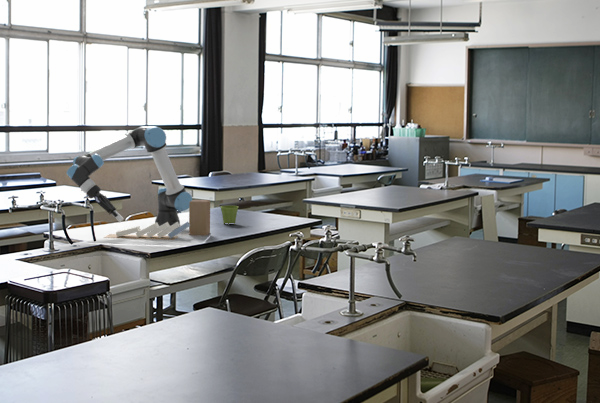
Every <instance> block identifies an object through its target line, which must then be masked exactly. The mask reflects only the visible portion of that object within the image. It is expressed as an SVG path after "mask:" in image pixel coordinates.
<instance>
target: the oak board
mask: <svg viewBox="0 0 600 403" xmlns="http://www.w3.org/2000/svg"><path fill="white" fill-rule="evenodd" d="M178 237H179V236H178V235H175V236H174V237H172V238H171V239H170V237H169V236H168V235H164V236H163V237H161V238H159V237H158V235H153V236H152V237H150V238H149V237H148V236H147V234H144V235H142V236H140V237H137V235H136V234H128V235H123V236H119V237H117V235H116V233H115V234H114V233H113V234H112V233H110V234H109V233H108V235H106V236H104V237H103V239H123V240H125V239H130V240H133V239H134V240H156V241H157V240H158V241H159V240H163V241H166V240H167V241H169V240H170V241H174V240H176V239H177V238H178Z"/></svg>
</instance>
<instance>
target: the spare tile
mask: <svg viewBox="0 0 600 403" xmlns="http://www.w3.org/2000/svg"><path fill="white" fill-rule="evenodd" d="M141 230H142V229H141V227H140V225H138V226H134V227H130V228H129V227H128V228H127V229H125V228H124V229H122V230H120V229H119V230H118V231H116V232H115V234H116V235H117V237H119V236H123V235H133V234H136V233H137V232H139V231H141Z"/></svg>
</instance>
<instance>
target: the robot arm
mask: <svg viewBox="0 0 600 403" xmlns="http://www.w3.org/2000/svg"><path fill="white" fill-rule="evenodd" d="M166 140H167V135H166V132H165V131H164V130H163V129H162V128H161V127H159V126H154V125H151V126H148V125H142V126H139V127H137V128H135V129H133V130H130V131H128V132H126V133H125V134H124V136H122V137H120V138H118V139H115V140H114V141H113V140H112V141H111V142H109V143H107V144H105V145H103V146H101V147H98V148H96V149H93V150H92V151H90V152H88V153H86V154H83V155H77V156H75V157H74V158H73V161H72V165H71V166H70V167H69V168H68V169H67V170H66V175H67V176H68V177H69V178H70V180H71V181H72V182H73V183H74V184H75V185H76V186H77V187H79V189H80V191H81V192H83V193H85V195H86V196H87V197H88V196H89V197H88V198H89V199H95V201H94V202H95V203H96V204H98V205H99V206H100V207H101V208H102V209H103V210H105V211H106V213H108V214H109V215H111V216H112V217H113V218H114V219H116V220H117V221H118V222H119V223H121V222H122V221H124V217H123V216H122V215H121V214H120V213H119V212H118V211H117V207H115V205H114V204H113V203H112V202H111V201H110V200H109V199H108V197H107V196H106V195H104V194H102V193H101V191H102V189H101V188H100V187H99V186H98V185H97V184H96V182H94V180H93V179H91V177H90V176H91V175H92V174H94V173H95V172H96V171H98V170H99V169H100V168H102V166H103V165H104V164H105V161H106V160H108V159H110V158H112V157H114V156H117V155H120V153H123V152H125V151H126V150H127V151H128V150H129V149H132V150H133V149H135V148H138V147H145V149H146V151H147V154H150V155H151V157H152V159H153V161H154V163H155V166H156V168H157V170H158V173H159V175H160V178H161V179H162V182H163V184H164V186H165V187H162V188H159V189H158V190H157V213H156V214H157V215H156V217H155V219H154V224H155V223H158V225H159V226H161V225H163V224H165V223H167V222H168V223H169V225H170V226H171V225H173V224H175V223H176V222H178V223H179V225H180V226H181V221H180V217H179V213H178V212H185V211H187V210H189V202H190V201H192V200H193V197H192V194H190V193H189V192H188V191H187V190H186V189H185V185H183V184H181V183H180V180H179V178H178V176H177V174H176V171H175V169H174V166H173V164H172V162H171V159H170V156H169V154H168V152H167V150H166V148H167V143H166V142H167V141H166ZM170 226H169V227H170Z"/></svg>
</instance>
